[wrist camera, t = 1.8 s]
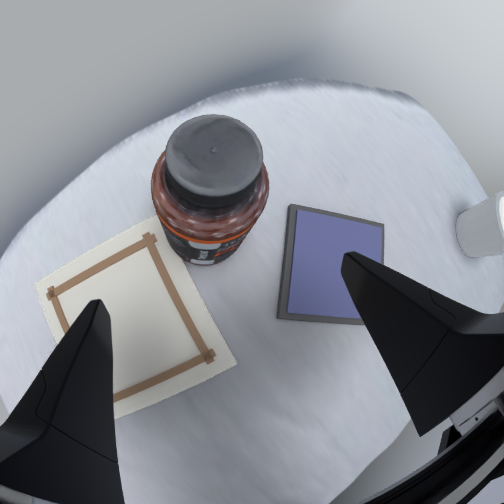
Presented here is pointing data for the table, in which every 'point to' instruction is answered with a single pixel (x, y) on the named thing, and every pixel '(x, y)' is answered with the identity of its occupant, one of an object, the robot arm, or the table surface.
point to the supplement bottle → (209, 187)
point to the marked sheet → (140, 315)
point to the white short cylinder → (482, 228)
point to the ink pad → (323, 264)
